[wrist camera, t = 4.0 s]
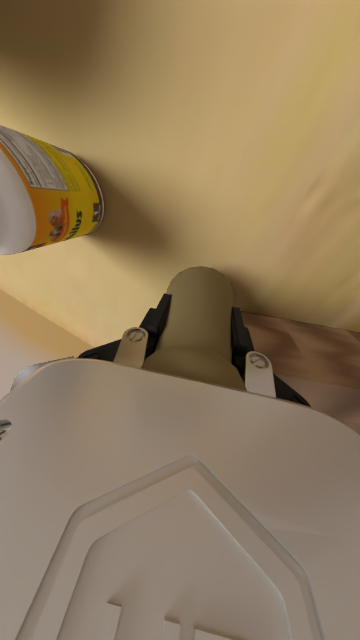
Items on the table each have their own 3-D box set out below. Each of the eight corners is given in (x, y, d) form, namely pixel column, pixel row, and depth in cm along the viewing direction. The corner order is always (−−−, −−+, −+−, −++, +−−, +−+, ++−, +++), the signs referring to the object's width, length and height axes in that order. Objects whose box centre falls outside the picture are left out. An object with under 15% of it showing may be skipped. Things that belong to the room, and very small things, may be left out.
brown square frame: (385, 337, 18) (488, 414, 11) (301, 406, 27) (330, 469, 21) (240, 311, 18) (260, 371, 12) (207, 388, 28) (208, 445, 21)
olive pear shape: (228, 329, 16) (250, 486, 7) (168, 324, 17) (120, 459, 8) (241, 267, 12) (314, 427, 4) (163, 265, 13) (68, 390, 4)
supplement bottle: (77, 244, 16) (-58, 288, 8) (27, 177, 13) (-260, 136, 5) (120, 215, 14) (2, 233, 6) (72, 130, 11) (-271, -56, 3)
